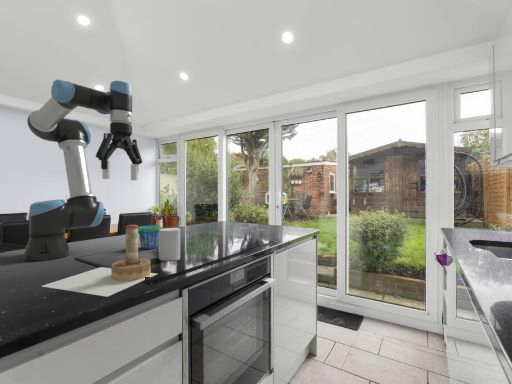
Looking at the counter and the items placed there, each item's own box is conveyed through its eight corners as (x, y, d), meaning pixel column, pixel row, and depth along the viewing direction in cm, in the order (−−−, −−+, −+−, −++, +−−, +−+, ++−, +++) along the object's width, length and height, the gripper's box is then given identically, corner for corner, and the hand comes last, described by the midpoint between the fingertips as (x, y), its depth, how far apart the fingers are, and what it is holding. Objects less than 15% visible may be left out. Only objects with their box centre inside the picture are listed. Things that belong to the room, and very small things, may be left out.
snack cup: (139, 252, 120) (139, 229, 120) (128, 248, 127) (128, 227, 127) (170, 246, 132) (170, 226, 132) (158, 243, 139) (158, 224, 139)
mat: (40, 287, 76) (40, 286, 76) (100, 268, 95) (100, 267, 95) (107, 298, 69) (107, 296, 69) (158, 275, 88) (158, 273, 88)
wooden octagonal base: (103, 278, 83) (103, 265, 83) (130, 268, 93) (130, 257, 93) (132, 282, 79) (132, 269, 79) (157, 272, 90) (157, 260, 90)
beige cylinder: (122, 276, 85) (123, 225, 85) (131, 273, 89) (131, 224, 88) (132, 277, 84) (132, 226, 84) (140, 274, 87) (140, 225, 87)
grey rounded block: (183, 256, 112) (183, 228, 112) (175, 261, 104) (175, 231, 104) (164, 256, 113) (164, 227, 113) (155, 261, 105) (155, 230, 105)
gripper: (101, 114, 89) (100, 177, 89) (151, 130, 113) (151, 180, 113) (83, 115, 92) (83, 178, 92) (136, 131, 115) (136, 180, 115)
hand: (121, 179), depth 102 cm, fingers open, 13 cm apart
